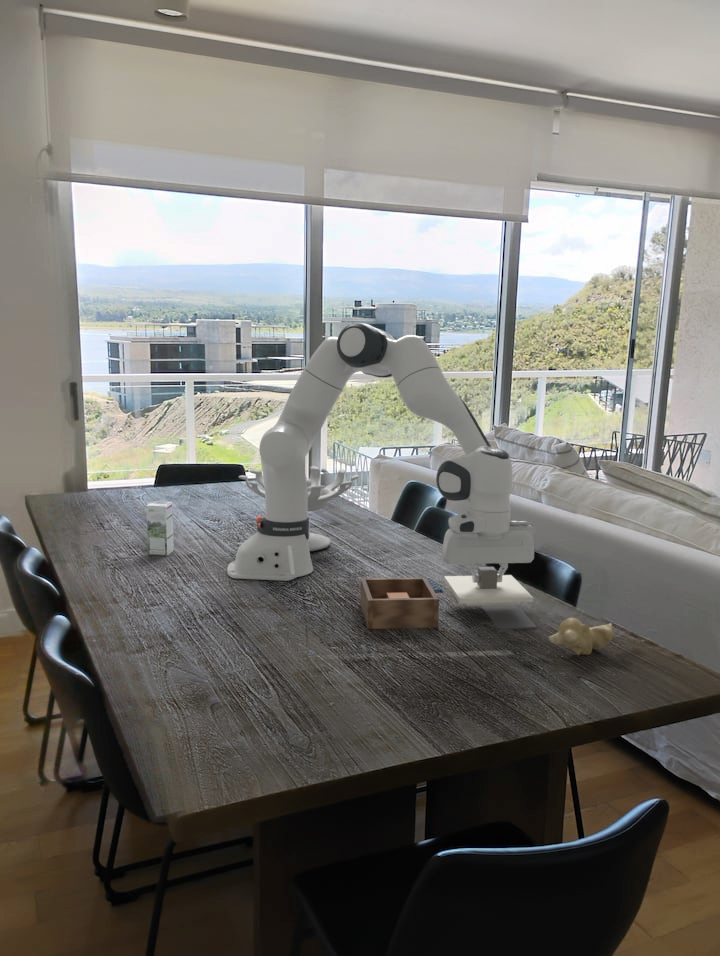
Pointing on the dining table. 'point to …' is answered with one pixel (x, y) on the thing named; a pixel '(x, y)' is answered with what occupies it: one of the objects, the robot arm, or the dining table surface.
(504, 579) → the lid
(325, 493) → the candelabra
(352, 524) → the dining table surface
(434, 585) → the woven mat
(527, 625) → the rubber mat
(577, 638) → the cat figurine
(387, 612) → the walnut box
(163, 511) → the syrup box
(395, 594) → the terracotta block
